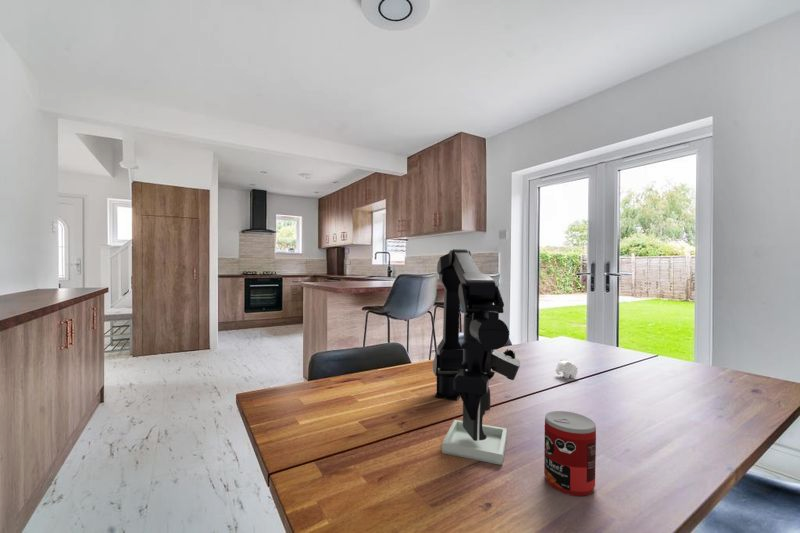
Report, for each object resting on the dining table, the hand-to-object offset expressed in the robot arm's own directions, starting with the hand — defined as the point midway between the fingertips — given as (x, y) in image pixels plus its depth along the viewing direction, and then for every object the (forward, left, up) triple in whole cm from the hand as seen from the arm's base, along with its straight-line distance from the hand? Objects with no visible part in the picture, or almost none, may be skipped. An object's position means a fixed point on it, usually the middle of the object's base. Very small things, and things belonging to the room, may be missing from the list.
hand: (476, 412), depth 74 cm
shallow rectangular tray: (0, 0, -7) cm, 7 cm away
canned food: (+17, -7, -7) cm, 20 cm away
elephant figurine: (+22, +59, -7) cm, 63 cm away
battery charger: (0, 0, -5) cm, 5 cm away
